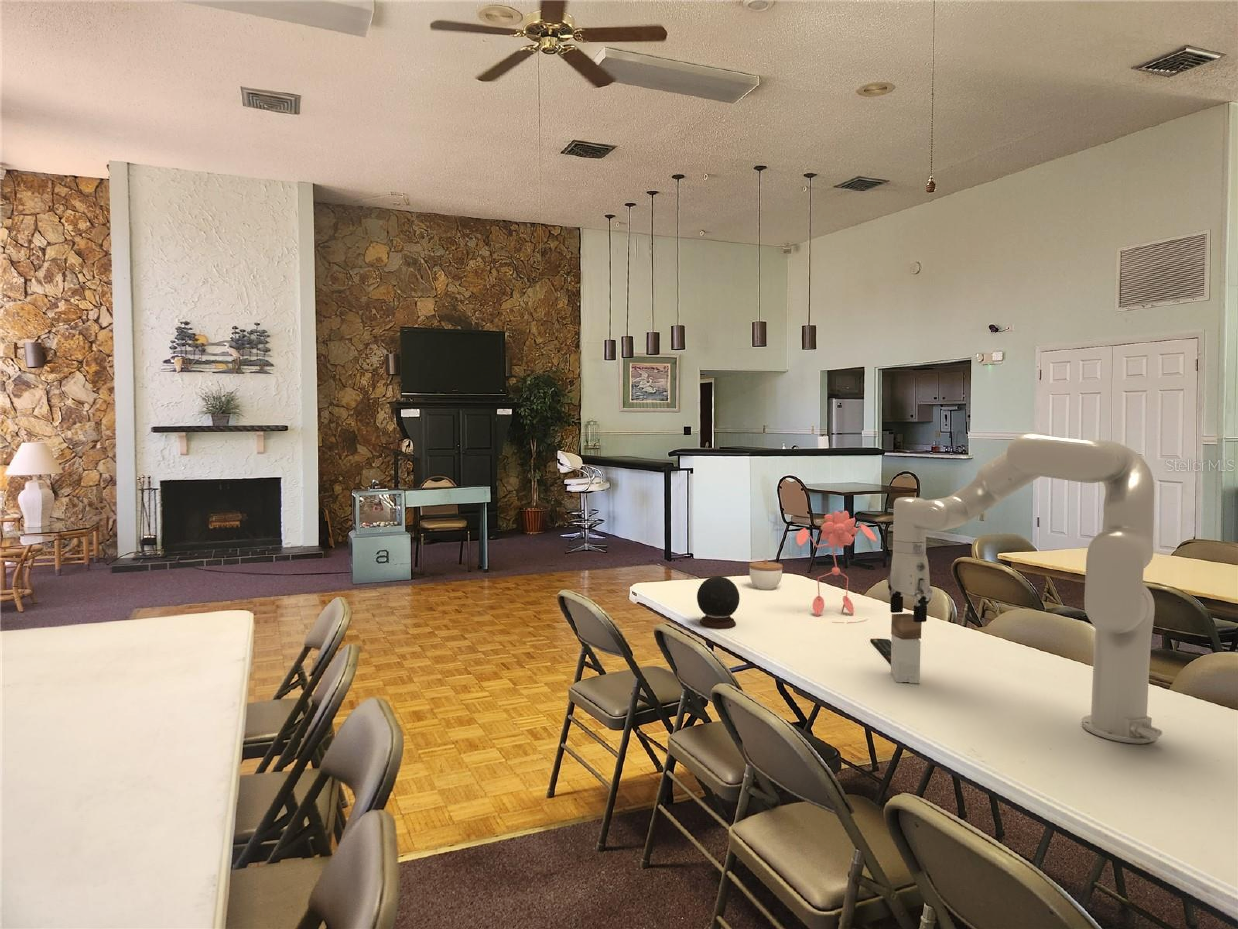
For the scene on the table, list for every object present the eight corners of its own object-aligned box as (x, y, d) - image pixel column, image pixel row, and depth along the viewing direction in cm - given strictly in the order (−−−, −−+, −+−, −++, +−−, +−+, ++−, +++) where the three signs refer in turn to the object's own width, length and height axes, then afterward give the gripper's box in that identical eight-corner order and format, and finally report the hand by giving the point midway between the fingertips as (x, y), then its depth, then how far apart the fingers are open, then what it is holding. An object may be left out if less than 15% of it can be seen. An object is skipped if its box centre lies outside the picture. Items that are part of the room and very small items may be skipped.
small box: (919, 684, 182) (921, 641, 181) (895, 682, 183) (896, 640, 183) (913, 674, 190) (914, 632, 189) (890, 672, 191) (891, 631, 190)
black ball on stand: (699, 630, 228) (700, 580, 228) (693, 618, 241) (694, 572, 241) (742, 630, 229) (743, 581, 228) (734, 619, 242) (735, 572, 241)
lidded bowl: (763, 583, 298) (763, 555, 298) (788, 588, 289) (789, 560, 288) (741, 587, 290) (742, 558, 290) (767, 593, 281) (768, 563, 280)
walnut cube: (921, 638, 184) (921, 618, 184) (902, 639, 183) (903, 619, 183) (909, 633, 189) (909, 613, 189) (891, 634, 188) (891, 614, 188)
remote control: (892, 669, 195) (892, 664, 195) (869, 642, 219) (869, 638, 219) (913, 670, 195) (913, 664, 194) (888, 643, 218) (888, 638, 218)
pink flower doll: (790, 611, 252) (794, 507, 250) (864, 611, 255) (869, 508, 252) (805, 624, 237) (809, 514, 234) (884, 624, 239) (889, 514, 237)
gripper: (945, 552, 177) (943, 625, 178) (902, 542, 194) (901, 608, 195) (916, 553, 176) (915, 626, 176) (876, 543, 192) (875, 609, 193)
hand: (907, 617), depth 185 cm, fingers open, 9 cm apart
